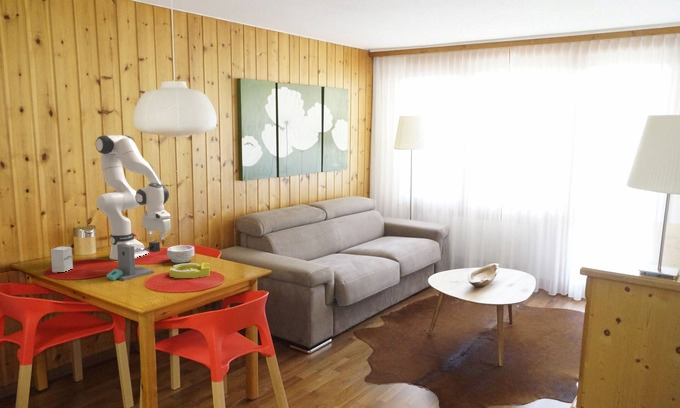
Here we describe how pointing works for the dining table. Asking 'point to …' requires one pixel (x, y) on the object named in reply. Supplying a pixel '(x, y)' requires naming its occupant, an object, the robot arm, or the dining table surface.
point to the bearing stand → (129, 263)
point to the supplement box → (61, 259)
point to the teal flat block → (114, 274)
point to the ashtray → (190, 270)
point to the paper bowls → (180, 253)
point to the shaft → (150, 247)
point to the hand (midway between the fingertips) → (156, 237)
